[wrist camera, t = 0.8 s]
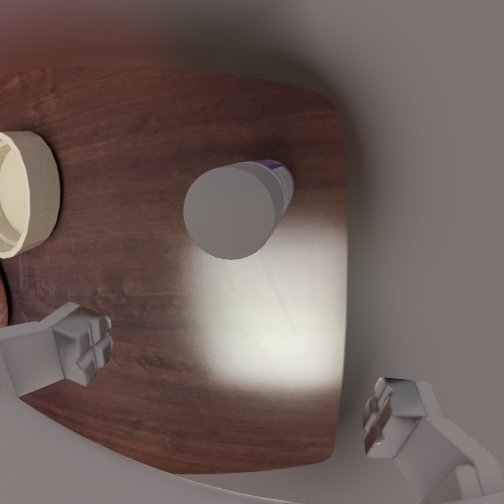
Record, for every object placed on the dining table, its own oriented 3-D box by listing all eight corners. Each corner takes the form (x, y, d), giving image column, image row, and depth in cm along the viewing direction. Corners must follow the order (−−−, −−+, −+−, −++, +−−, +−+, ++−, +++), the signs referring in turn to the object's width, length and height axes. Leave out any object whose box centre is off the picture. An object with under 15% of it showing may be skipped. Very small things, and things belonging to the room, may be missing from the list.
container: (235, 193, 30) (165, 229, 16) (260, 150, 28) (208, 145, 14) (278, 219, 30) (245, 280, 16) (304, 176, 28) (297, 198, 14)
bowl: (-1, 133, 33) (-31, 135, 27) (68, 129, 31) (32, 129, 25) (0, 235, 38) (-28, 245, 32) (65, 254, 36) (33, 270, 30)
